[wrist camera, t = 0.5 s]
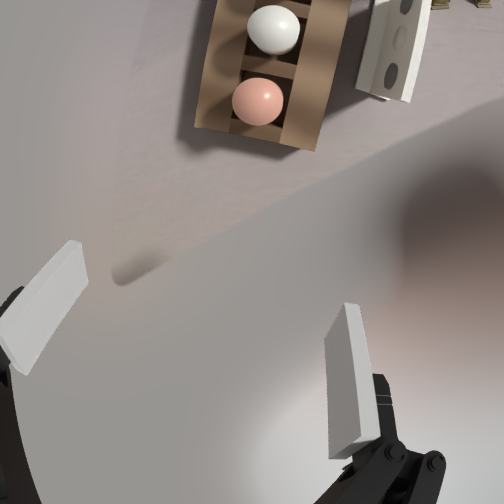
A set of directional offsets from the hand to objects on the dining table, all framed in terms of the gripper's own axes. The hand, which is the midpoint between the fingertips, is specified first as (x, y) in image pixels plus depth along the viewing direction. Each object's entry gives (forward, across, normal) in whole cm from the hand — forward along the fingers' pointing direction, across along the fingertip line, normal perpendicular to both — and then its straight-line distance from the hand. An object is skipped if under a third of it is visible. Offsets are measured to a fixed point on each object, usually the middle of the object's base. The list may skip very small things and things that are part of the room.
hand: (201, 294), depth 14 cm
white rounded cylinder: (+19, 0, +14) cm, 24 cm away
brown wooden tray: (+23, 0, +14) cm, 27 cm away
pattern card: (+23, +11, +17) cm, 30 cm away
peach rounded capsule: (+19, 0, +7) cm, 20 cm away
